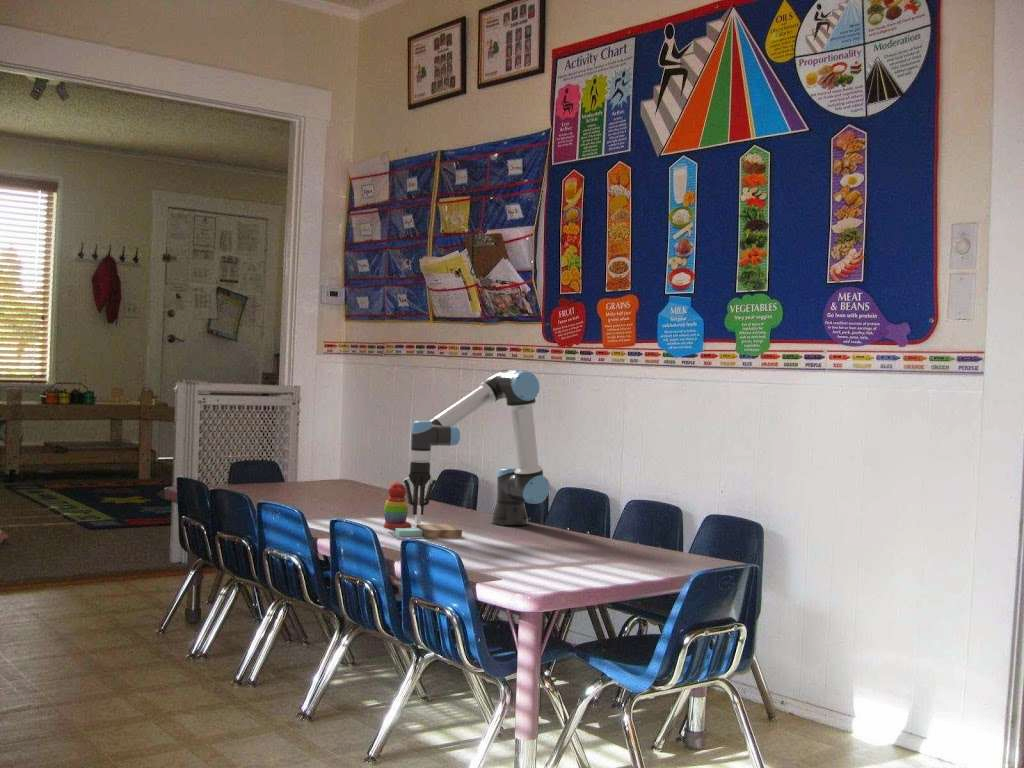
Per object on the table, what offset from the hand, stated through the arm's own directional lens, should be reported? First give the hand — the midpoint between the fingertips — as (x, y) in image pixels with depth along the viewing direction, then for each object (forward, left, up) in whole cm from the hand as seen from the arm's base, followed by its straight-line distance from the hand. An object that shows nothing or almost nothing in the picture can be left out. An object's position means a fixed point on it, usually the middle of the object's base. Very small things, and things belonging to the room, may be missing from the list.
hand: (417, 523), depth 418 cm
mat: (+4, 0, -5) cm, 6 cm away
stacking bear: (+3, -19, -5) cm, 20 cm away
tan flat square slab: (-9, 0, -5) cm, 10 cm away
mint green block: (+3, 0, -4) cm, 5 cm away
